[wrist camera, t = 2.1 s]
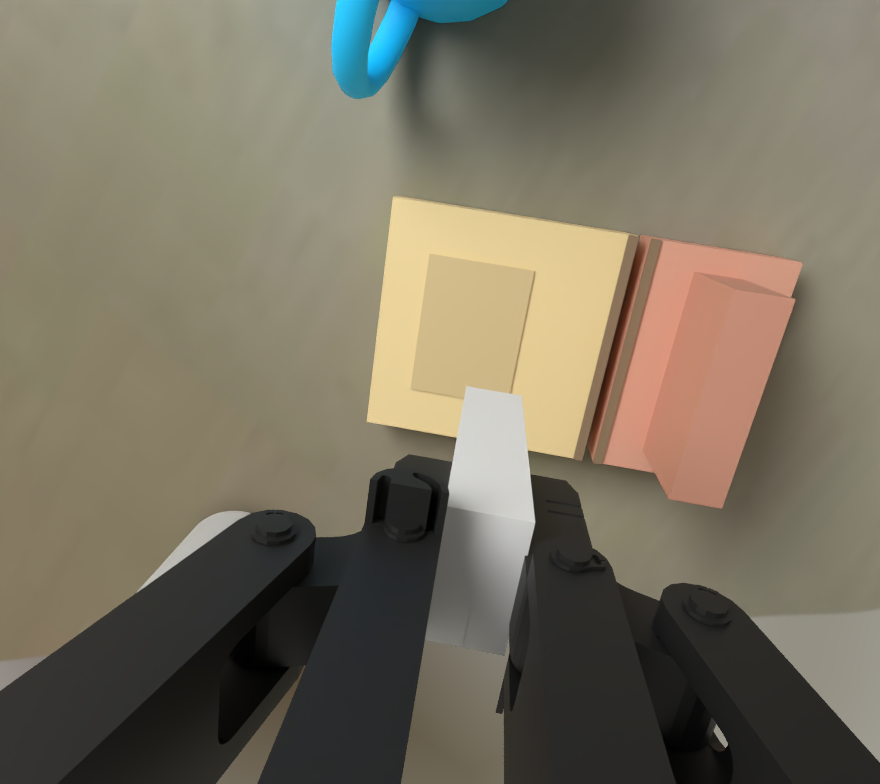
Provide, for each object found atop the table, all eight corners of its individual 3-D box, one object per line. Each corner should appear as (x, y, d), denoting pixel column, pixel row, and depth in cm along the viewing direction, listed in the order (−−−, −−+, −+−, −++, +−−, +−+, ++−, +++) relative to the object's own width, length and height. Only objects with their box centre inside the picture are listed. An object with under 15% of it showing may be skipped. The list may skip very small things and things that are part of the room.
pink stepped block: (640, 234, 26) (683, 249, 20) (780, 257, 26) (869, 279, 19) (586, 444, 29) (609, 512, 23) (710, 465, 29) (767, 541, 23)
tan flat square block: (400, 196, 26) (392, 196, 24) (628, 232, 26) (639, 236, 24) (375, 406, 30) (366, 422, 28) (576, 442, 29) (582, 461, 27)
